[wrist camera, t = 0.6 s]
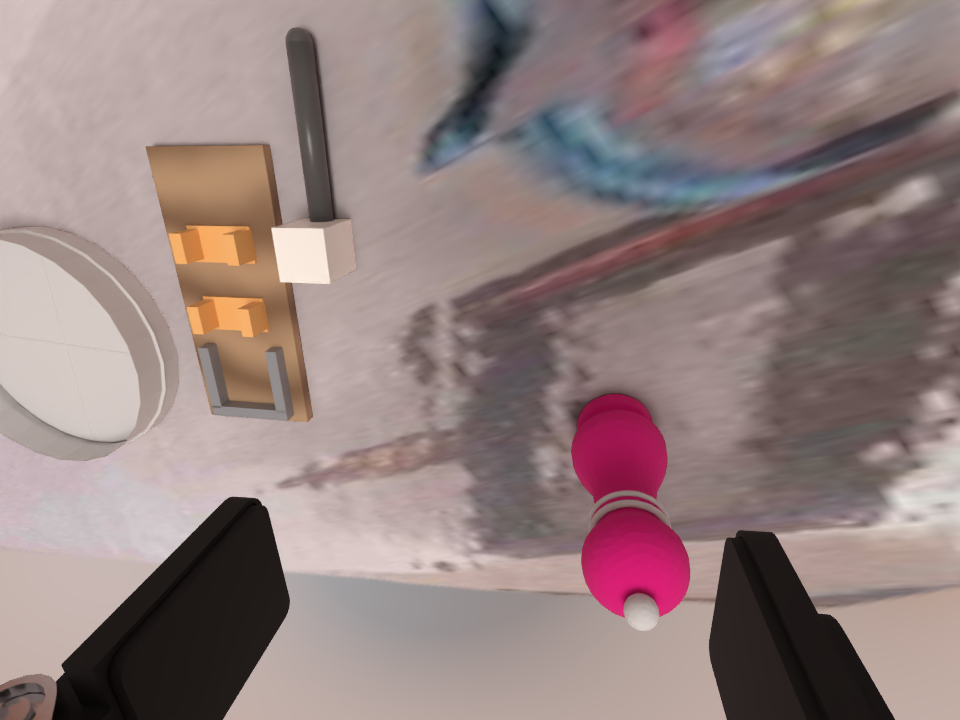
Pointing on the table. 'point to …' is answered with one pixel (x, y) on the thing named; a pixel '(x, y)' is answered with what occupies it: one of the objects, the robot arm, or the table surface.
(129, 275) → the dish
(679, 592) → the pepper mill
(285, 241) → the connector
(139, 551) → the table surface
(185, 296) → the board
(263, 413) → the end holder
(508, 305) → the table surface
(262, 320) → the clip
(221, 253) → the clip
